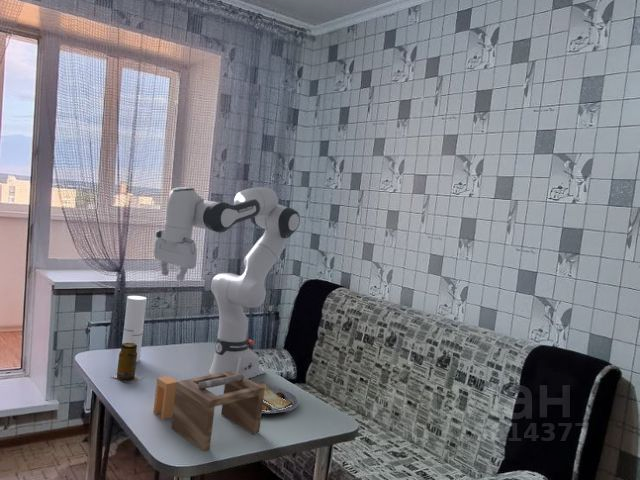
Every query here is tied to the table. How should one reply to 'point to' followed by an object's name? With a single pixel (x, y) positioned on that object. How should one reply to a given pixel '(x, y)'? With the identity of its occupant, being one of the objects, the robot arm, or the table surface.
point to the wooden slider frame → (199, 405)
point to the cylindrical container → (134, 321)
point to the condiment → (127, 363)
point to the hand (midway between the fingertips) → (172, 277)
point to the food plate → (277, 399)
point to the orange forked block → (165, 397)
